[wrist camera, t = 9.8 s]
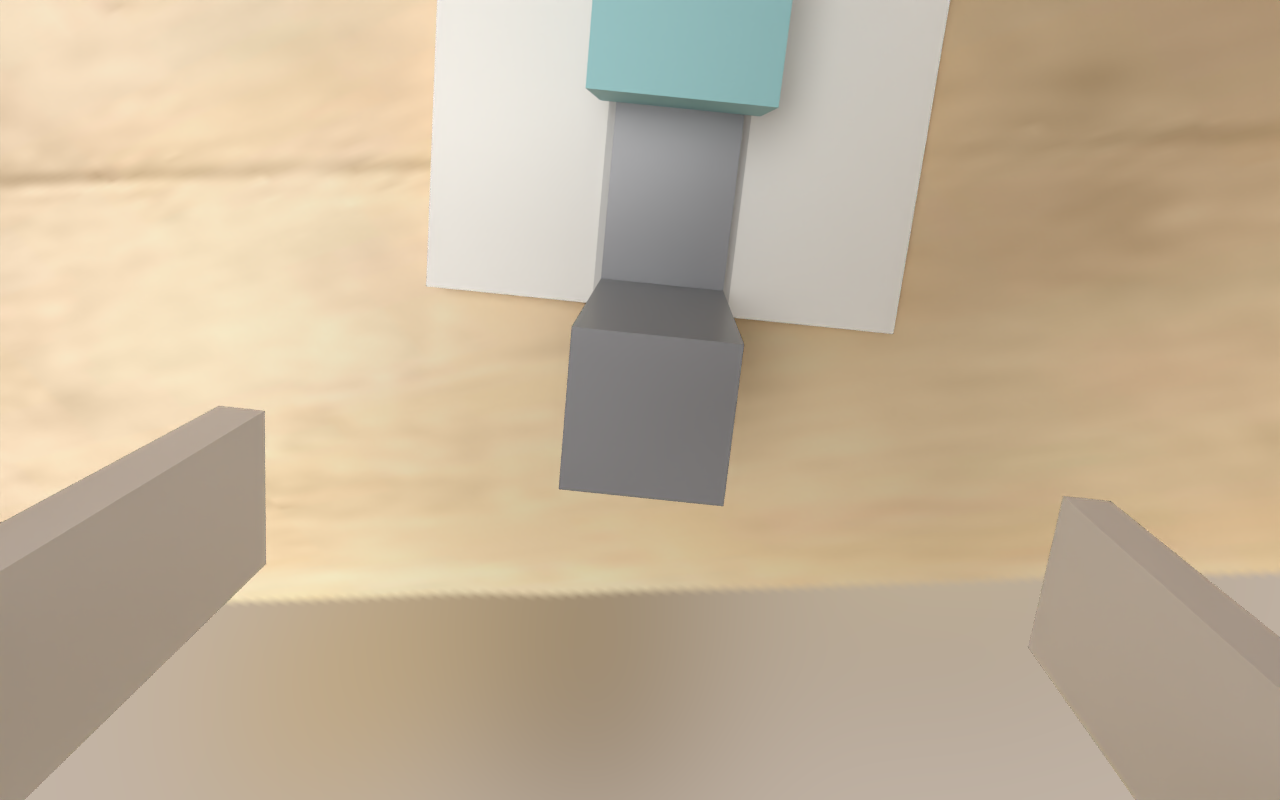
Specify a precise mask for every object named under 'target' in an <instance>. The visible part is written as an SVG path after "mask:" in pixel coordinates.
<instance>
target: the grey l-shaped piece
mask: <svg viewBox="0 0 1280 800" xmlns="http://www.w3.org/2000/svg"><path fill="white" fill-rule="evenodd" d="M743 123H744V115H741V114H731V113H721V112H711V111H702V110H692V109H682V108H672V107H662V106H652V105H642V104H632V103H622V102H616V110H615V122H614V133H613V145H612V156H611V168H610V180H609V191H608V203H607V214H606V226H605V237H604V249H603V260H602V272H601V279H600V281H599V282H598V284H597V286H596V287H595V289H594V291H593V292H592V294H591V296H590V297H589V299H588V301H587V302H586V304H585V306H584V307H583V309H582V311H581V312H580V314H579V316H578V317H577V319H576V321H575V322H574V324H573V326H572V330H571V342H570V355H569V367H568V380H567V393H566V405H565V418H564V430H563V443H562V455H561V468H560V480H559V489H562V490H572V491H582V492H591V493H601V494H610V495H620V496H630V497H639V498H649V499H659V500H668V501H678V502H687V503H697V504H707V505H716V506H723V505H724V497H725V489H726V481H727V473H728V466H729V458H730V450H731V442H732V435H733V427H734V419H735V411H736V404H737V396H738V388H739V380H740V373H741V365H742V357H743V349H744V343H743V340H742V338H741V335H740V333H739V330H738V327H737V325H736V322H735V320H734V317H733V315H732V312H731V310H730V307H729V304H728V302H727V299H726V297H725V294H724V292H723V289H724V280H725V272H726V264H727V255H728V247H729V239H730V231H731V222H732V214H733V206H734V198H735V189H736V181H737V173H738V165H739V156H740V148H741V140H742V132H743Z"/></svg>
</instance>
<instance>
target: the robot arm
mask: <svg viewBox="0 0 1280 800" xmlns="http://www.w3.org/2000/svg"><path fill="white" fill-rule="evenodd" d="M265 564H266V512H265V411H262V410H252V409H243V408H234V407H224V406H218V407H216V408H214V409H212V410H210V411H208V412H207V413H205V414H203V415H201V416H199V417H197V418H195V419H193V420H192V421H190V422H188V423H186V424H184V425H182V426H180V427H179V428H177V429H175V430H173V431H171V432H169V433H167V434H166V435H164V436H162V437H160V438H158V439H156V440H154V441H152V442H151V443H149V444H147V445H145V446H143V447H141V448H139V449H138V450H136V451H134V452H132V453H130V454H128V455H126V456H125V457H123V458H121V459H119V460H117V461H115V462H113V463H111V464H110V465H108V466H106V467H104V468H102V469H100V470H98V471H97V472H95V473H93V474H91V475H89V476H87V477H85V478H84V479H82V480H80V481H78V482H76V483H74V484H72V485H70V486H69V487H67V488H65V489H63V490H61V491H59V492H57V493H56V494H54V495H52V496H50V497H48V498H46V499H44V500H43V501H41V502H39V503H37V504H35V505H33V506H31V507H29V508H28V509H26V510H24V511H22V512H20V513H18V514H16V515H15V516H13V517H11V518H9V519H7V520H5V521H3V522H0V800H25V799H26V798H27V797H28V796H29V795H30V794H31V793H32V792H33V791H34V790H35V789H36V788H37V787H38V786H39V785H40V784H41V783H42V782H43V781H44V780H45V779H46V778H47V777H48V776H49V775H50V774H51V773H52V772H53V771H54V770H55V769H56V768H57V767H58V766H59V765H61V764H62V763H63V761H65V760H66V758H68V757H69V756H70V755H71V754H72V753H73V752H74V751H75V750H76V749H77V748H78V747H79V746H80V745H81V744H82V743H83V742H84V741H85V740H86V739H87V738H88V737H89V736H90V735H91V734H92V733H93V732H94V731H95V730H96V729H97V728H98V727H99V726H100V725H101V724H103V723H104V722H105V721H106V720H107V719H108V718H109V717H110V716H111V715H112V714H113V713H114V712H115V711H116V710H117V709H118V708H119V707H120V706H121V705H122V704H123V703H124V702H125V701H126V700H127V699H128V698H129V697H130V696H131V695H132V694H133V693H134V692H135V691H136V690H137V689H138V688H139V687H140V686H141V685H142V684H143V683H144V682H146V681H147V679H149V678H150V677H151V676H152V675H153V674H154V673H155V672H156V671H157V670H158V669H159V668H160V667H161V666H162V665H163V664H164V663H165V662H166V661H167V660H168V659H169V658H170V657H171V656H172V655H173V654H174V653H175V652H176V651H177V650H178V649H179V648H180V647H181V646H182V645H183V644H184V643H185V642H186V641H188V640H189V639H190V638H191V637H192V636H193V635H194V634H195V633H196V632H197V631H198V630H199V629H200V628H201V627H202V626H203V625H204V624H205V623H206V622H207V621H208V620H209V619H210V618H211V617H212V616H213V615H214V614H215V613H216V612H217V611H218V610H219V609H220V608H221V607H222V606H223V605H224V604H225V603H226V602H227V601H228V600H230V599H231V598H232V597H233V596H234V595H235V594H236V593H237V592H238V591H239V590H240V589H241V588H242V587H243V586H244V585H245V584H246V583H247V582H248V581H249V580H250V579H251V578H252V577H253V576H254V575H255V574H256V573H257V572H258V571H259V570H260V569H261V568H262V567H263V566H264V565H265ZM1028 648H1029V650H1030V651H1031V652H1032V654H1033V655H1034V657H1035V658H1036V660H1037V661H1038V662H1039V664H1040V665H1041V667H1042V668H1043V669H1044V671H1045V672H1046V674H1047V675H1048V677H1049V678H1050V679H1051V681H1052V682H1053V684H1054V685H1055V687H1056V688H1057V689H1058V691H1059V692H1060V694H1061V695H1062V696H1063V698H1064V699H1065V701H1066V702H1067V704H1068V705H1069V706H1070V708H1071V709H1072V711H1073V712H1074V713H1075V715H1076V716H1077V718H1078V719H1079V721H1080V722H1081V723H1082V725H1083V726H1084V727H1085V729H1086V730H1087V732H1088V733H1089V735H1090V736H1091V737H1092V739H1093V740H1094V742H1095V743H1096V745H1097V746H1098V748H1099V749H1100V750H1101V752H1102V753H1103V755H1104V756H1105V757H1106V759H1107V760H1108V762H1109V763H1110V764H1111V766H1112V767H1113V769H1114V770H1115V772H1116V773H1117V775H1118V776H1119V777H1120V779H1121V780H1122V782H1123V783H1124V784H1125V786H1126V787H1127V788H1128V790H1129V791H1130V793H1131V794H1132V796H1133V797H1134V799H1135V800H1280V637H1279V636H1277V635H1276V634H1275V633H1273V631H1271V630H1270V629H1269V628H1268V627H1266V626H1265V625H1264V624H1263V623H1261V622H1260V621H1259V620H1258V619H1256V618H1255V617H1254V616H1253V615H1251V614H1250V613H1249V612H1248V611H1246V610H1245V609H1244V608H1243V607H1242V606H1240V605H1239V604H1238V603H1236V602H1235V601H1234V600H1233V599H1232V598H1230V597H1229V596H1228V595H1227V594H1225V593H1224V592H1223V591H1222V590H1220V589H1219V588H1218V587H1217V586H1215V585H1214V584H1213V583H1212V582H1210V581H1209V580H1208V579H1207V578H1205V577H1204V576H1203V575H1202V574H1200V573H1199V572H1198V571H1197V570H1195V569H1194V568H1193V567H1192V566H1191V565H1189V564H1188V563H1187V562H1186V561H1184V560H1183V559H1182V558H1181V557H1179V556H1178V555H1177V554H1176V553H1174V552H1173V551H1172V550H1171V549H1169V548H1168V547H1167V546H1166V545H1164V544H1163V543H1162V542H1161V541H1159V540H1158V539H1157V538H1156V537H1154V536H1153V535H1152V534H1151V533H1149V532H1148V531H1147V530H1146V529H1145V528H1143V527H1142V526H1141V525H1140V524H1138V523H1137V522H1136V521H1135V520H1133V519H1132V518H1131V517H1130V516H1128V515H1127V514H1126V513H1125V512H1123V511H1122V510H1121V509H1120V508H1118V507H1117V506H1116V505H1115V504H1113V503H1112V502H1111V501H1104V500H1095V499H1086V498H1076V497H1067V496H1063V499H1062V503H1061V507H1060V512H1059V516H1058V520H1057V525H1056V529H1055V533H1054V538H1053V542H1052V546H1051V551H1050V555H1049V559H1048V564H1047V568H1046V572H1045V577H1044V581H1043V586H1042V590H1041V594H1040V598H1039V603H1038V607H1037V611H1036V616H1035V620H1034V625H1033V629H1032V634H1031V637H1030V642H1029V646H1028Z"/></svg>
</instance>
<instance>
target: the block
mask: <svg viewBox="0 0 1280 800" xmlns="http://www.w3.org/2000/svg"><path fill="white" fill-rule="evenodd" d="M792 1H793V0H592V12H591V25H590V38H589V50H588V63H587V76H586V89H587V90H588V91H590V92H591V93H592V94H593V95H594V96H596V97H597V98H598V99H599V100H602V101H612V102H622V103H632V104H642V105H652V106H662V107H672V108H682V109H692V110H702V111H711V112H721V113H731V114H741V115H751V116H762V115H764V114H767V113H769V112H771V111H773V110H775V109H777V108H779V101H780V93H781V85H782V78H783V70H784V62H785V54H786V47H787V39H788V31H789V24H790V16H791V8H792Z"/></svg>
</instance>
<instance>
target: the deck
mask: <svg viewBox="0 0 1280 800" xmlns="http://www.w3.org/2000/svg"><path fill="white" fill-rule="evenodd" d="M949 4H950V0H793V1H792V8H791V16H790V24H789V31H788V39H787V47H786V54H785V62H784V70H783V78H782V85H781V93H780V101H779V108H777V109H775V110H773V111H771V112H769V113H767V114H764V115H762V116H751V115H744V123H743V132H742V140H741V148H740V156H739V165H738V173H737V181H736V189H735V198H734V206H733V214H732V222H731V231H730V239H729V247H728V255H727V264H726V272H725V280H724V289H723V292H724V294H725V297H726V299H727V302H728V304H729V307H730V310H731V312H732V315H733V317H734V318H741V319H751V320H761V321H771V322H780V323H790V324H800V325H810V326H820V327H829V328H839V329H849V330H859V331H868V332H878V333H888V334H893V333H894V327H895V321H896V315H897V309H898V303H899V297H900V292H901V286H902V280H903V274H904V268H905V262H906V256H907V250H908V245H909V239H910V233H911V227H912V221H913V215H914V209H915V204H916V198H917V192H918V186H919V180H920V174H921V168H922V162H923V157H924V151H925V145H926V139H927V133H928V127H929V121H930V115H931V110H932V104H933V98H934V92H935V86H936V80H937V74H938V69H939V63H940V57H941V51H942V45H943V39H944V33H945V27H946V22H947V16H948V10H949ZM591 12H592V0H437V20H436V46H435V72H434V98H433V124H432V150H431V176H430V203H429V229H428V255H427V281H426V286H429V287H438V288H448V289H458V290H468V291H477V292H487V293H497V294H507V295H517V296H526V297H536V298H546V299H556V300H565V301H575V302H585V303H586V302H587V301H588V299H589V297H590V296H591V294H592V292H593V291H594V289H595V287H596V286H597V284H598V282H599V281H600V279H601V272H602V260H603V249H604V237H605V226H606V214H607V203H608V191H609V180H610V168H611V156H612V145H613V133H614V122H615V110H616V102H612V101H602V100H599V99H598V98H597V97H596V96H594V95H593V94H592V93H591V92H590V91H588V90H587V89H586V76H587V63H588V50H589V38H590V25H591Z"/></svg>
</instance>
